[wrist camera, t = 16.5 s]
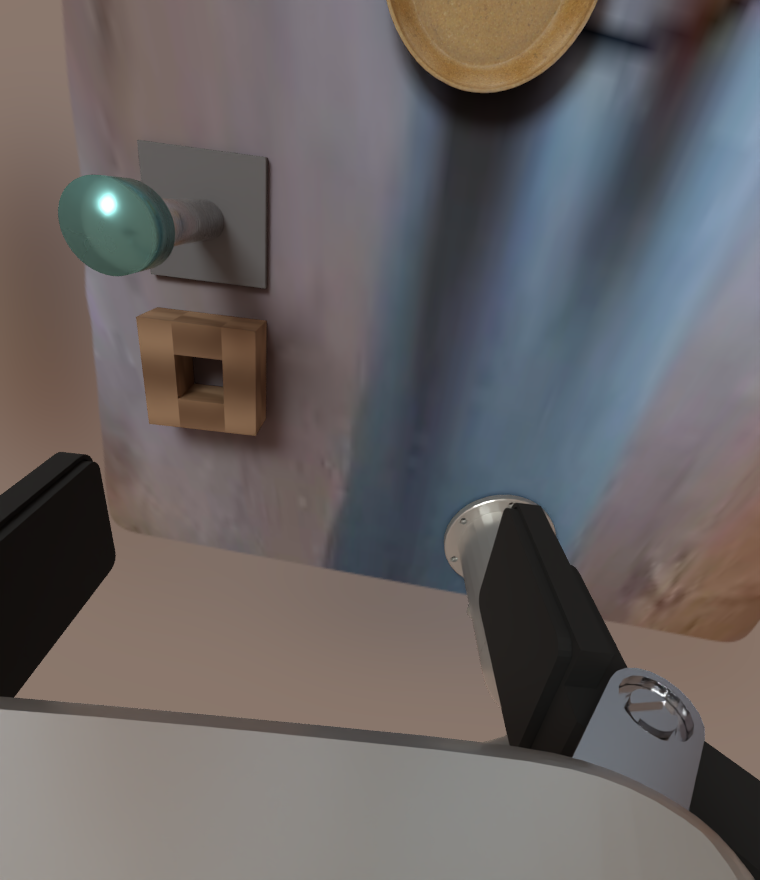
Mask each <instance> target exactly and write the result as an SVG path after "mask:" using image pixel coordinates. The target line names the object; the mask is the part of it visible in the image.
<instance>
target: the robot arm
mask: <svg viewBox="0 0 760 880" xmlns="http://www.w3.org/2000/svg"><path fill="white" fill-rule="evenodd" d="M444 549H445V554H446V558H447V560H448V562H449V564H450V566H451V567H452V568H453V569H454V570H455V572H457V573H458V574H459V575H460V576H462V577H463V578H464V581H465V586H466V591H467V597H468V602H469V605H468V608H467V615H468V616H469V617H470V618H472V622H473V627H474V632H475V637H476V643H477V647H478V653H479V658H480V664H481V669H482V674H483V678H484V682H485V684H486V687H487V689H488V691H489V693H490V695H491V696H492V698H493V699H494V701H495V702H496V704H497V705H498V706H499V707H500V708H501V709H502V714H503V718H504V723H505V727H506V731H507V735H506V736H504V737H501V738H497V739H494V740H490V741H486V742H473V741H466V740H457V739H448V738H439V737H430V736H422V735H412V734H401V733H391V732H380V731H370V730H360V729H351V728H340V727H330V726H320V725H310V724H300V723H289V722H278V721H267V720H256V719H246V718H236V717H225V716H214V715H203V714H193V713H182V712H171V711H159V710H149V709H138V708H127V707H115V706H104V705H92V704H81V703H69V702H57V701H46V700H35V699H23V698H14V697H15V695H16V694H17V693H18V691H19V690H20V689H21V688H22V686H23V685H24V683H25V682H26V681H27V680H28V678H29V677H30V676H31V674H32V673H33V672H34V670H35V669H36V668H37V666H38V665H39V664H40V663H41V661H42V660H43V659H44V657H45V656H46V655H47V653H48V652H49V651H50V649H51V648H52V647H53V645H54V644H55V643H56V642H57V640H58V639H59V638H60V636H61V635H62V634H63V632H64V631H65V630H66V628H67V627H68V626H69V624H70V623H71V622H72V620H73V619H74V618H75V617H76V615H77V614H78V613H79V611H80V610H81V609H82V607H83V606H84V605H85V603H86V602H87V601H88V599H89V598H90V597H91V595H92V594H93V593H94V592H95V590H96V589H97V588H98V586H99V585H100V583H101V582H102V581H103V580H104V578H105V577H106V576H107V575H108V573H109V572H110V570H111V569H112V567H113V565H114V561H115V556H116V555H115V548H114V543H113V538H112V532H111V527H110V521H109V515H108V510H107V505H106V499H105V494H104V489H103V483H102V478H101V473H100V468H99V465H98V464H97V463H96V462H93V461H92V459H91V457H90V456H88V455H84V454H75V453H66V452H58V453H57V454H55V455H54V456H52V457H51V458H49V459H48V460H47V461H45V462H44V463H43V464H41V465H40V466H39V467H37V468H36V469H35V470H33V471H32V472H31V473H29V474H28V475H27V476H25V477H24V478H23V479H22V480H20V481H19V482H17V483H16V484H15V485H13V486H12V487H11V488H9V489H8V490H7V491H6V492H4V493H3V494H1V495H0V880H760V781H759V780H758V779H757V778H755V777H754V776H752V775H751V774H750V773H748V772H747V771H745V770H744V769H742V768H741V767H740V766H739V765H737V764H736V763H734V762H733V761H731V760H730V759H729V758H727V757H726V756H725V755H723V754H722V753H720V752H719V751H718V750H716V749H715V748H713V747H712V746H711V745H709V744H708V743H706V742H705V741H704V740H705V737H704V736H705V733H704V725H703V723H702V720H701V717H700V715H699V713H698V711H697V710H696V708H695V707H694V706H693V704H692V703H691V701H690V700H689V699H688V698H687V697H686V696H685V695H684V694H683V693H682V692H681V691H680V690H679V689H678V688H677V687H675V686H674V685H672V684H671V683H670V682H668V681H667V680H666V679H664V678H662V677H660V676H658V675H656V674H654V673H652V672H649V671H646V670H642V669H638V668H627V666H626V664H625V662H624V660H623V658H622V656H621V654H620V652H619V650H618V648H617V646H616V644H615V642H614V640H613V638H612V636H611V635H610V633H609V630H608V628H607V626H606V625H605V623H604V621H603V619H602V617H601V615H600V613H599V611H598V609H597V607H596V605H595V603H594V601H593V599H592V597H591V595H590V593H589V591H588V589H587V587H586V585H585V583H584V581H583V579H582V577H581V575H580V573H579V572H578V570H577V569H576V568H575V567H574V566H572V565H570V563H569V561H568V559H567V557H566V555H565V553H564V551H563V549H562V547H561V545H560V543H559V541H558V539H557V537H556V532H555V528H554V525H553V523H552V521H551V519H550V517H549V516H548V514H547V513H546V512H545V510H544V509H542V507H541V506H539V505H538V504H536V503H534V502H533V501H531V500H529V499H526V498H523V497H520V496H514V495H494V496H488V497H485V498H482V499H479V500H476V501H474V502H472V503H470V504H468V505H467V506H465V507H464V508H463V509H461V510H460V511H459V512H458V513H457V514H456V515H455V516H454V517H453V518H452V520H451V521H450V523H449V524H448V526H447V529H446V532H445V535H444Z"/></svg>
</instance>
